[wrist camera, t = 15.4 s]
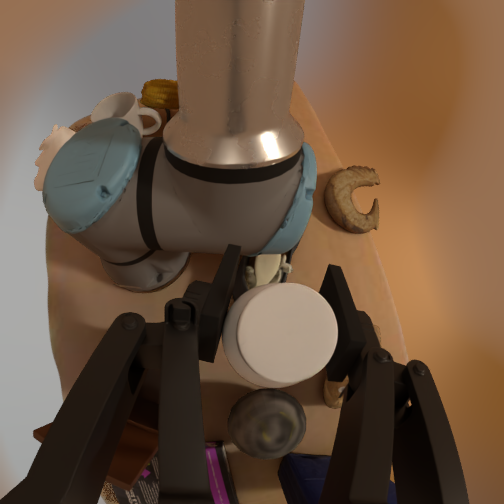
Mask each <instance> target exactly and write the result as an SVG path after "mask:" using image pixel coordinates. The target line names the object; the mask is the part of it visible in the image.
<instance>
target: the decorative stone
mask: <svg viewBox="0 0 504 504" xmlns="http://www.w3.org/2000/svg"><path fill="white" fill-rule="evenodd" d="M305 431H306V416H305V413H304V411H303V408H302V406H301V405H300V404H299V403H298V401H297V400H296V399H295V398H294V397H292V396H291V395H289V394H288V393H286V392H284V391H281V390H277V389H273V388H267V389H258V390H255V391H251V392H248V393H247V394H246V395H244V396H243V397H241V398H240V399H238V401H237V402H236V403H235V405H234V406H233V407H232V409H231V412H230V414H229V417H228V432H229V435H230V437H231V440H232V442H233V443H234V444H235V445H236V446H237V448H238V449H239V450H240V451H241V452H243V453H245V454H247V455H248V456H250V457H253V458H258V459H263V460H265V459H276V458H279V457H282V456H285V455H287V454H288V453H290V452H291V451H293V450H294V449H295V448H296V447H297V446H298V444H299V443H300V442H301V441H302V439H303V436H304V433H305Z"/></svg>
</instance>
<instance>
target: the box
mask: <svg viewBox="0 0 504 504" xmlns="http://www.w3.org/2000/svg"><path fill="white" fill-rule="evenodd" d="M205 448H206V457H207V466H208V474H209V481H210V489H211V494H212V497H213V500H214V504H239V503H238V499H237V496H236V492H235V488H234V485H233V481H232V477H231V473H230V469H229V465H228V461H227V457H226V452H225V448H224V443H223V441H216V442H205ZM111 485H112V487H113V490H114V492H115V495H116V497H117V500H118V502H119V504H158V495H159V472H158V451H157V452H156V454H155V455H154V457H153V458H152V460H151V461H150V463H149V464H148V465H147V467H146V468H145V470H144V471H143V473H142V474H141V476H140V477H139V479H138V480H137V481H136V483H135V484H134V486H133V487H132V489H131V490H130V491H126V490H124V489H122V488H119V487H117V486H115V485H113V484H111Z"/></svg>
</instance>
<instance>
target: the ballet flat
mask: <svg viewBox="0 0 504 504" xmlns="http://www.w3.org/2000/svg"><path fill="white" fill-rule="evenodd" d="M302 235H303V234H302ZM301 237H302V236H301ZM300 239H301V238H300ZM299 241H300V240H299ZM299 241H298V242H297V244H296V245H295V246H294V247H293V248H292V249H290V250H289V251H287V252H285V253H282V254H268V255H258V256H254V257H250V256H246V255H243V256H242V259H241V261H240V264H239V267H238V270H237V274H236V280H235V285H234V289H233V293H232V294H233V299H234V302H235V301H236V300H237V299H238V298H239V297H240V296H241V295H243V294H244V293H245V292H247V291H248V290H250V289H252V288H255V287H257V286H261V285H264V284H269V283H285V282H286V278H287V274H288V273H291V272H292V271H293V269H292V266H291V265H290V262H291V258H292V254H293V253H294V251H295V249H296V248H297V246H298V244H299Z"/></svg>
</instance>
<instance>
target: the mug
mask: <svg viewBox="0 0 504 504" xmlns="http://www.w3.org/2000/svg"><path fill="white" fill-rule="evenodd" d="M142 115H148V116H150V117H152V118H154V119H155V121H156V124H155V125H154V126H152V127H149V128H143V120H142ZM106 118H122V119H125V120H127V121H128V122H129V123H130V124H132V125H133V126H135V127H136V128H137V129H138V130H139V132H140V134H141V138H142V137H143V135H150V134H153V133H155V132H156V131H157V130H158V129H159V128H160V126H161V123H162V120H161V116H160V114H159V113H158V112H157V111H155V110H154V109H151V108H146V107H142V108H140V107H139V104H138V101H137V99H136V97H135V95H133V94H132V93H128V92H121V93H116V94H112V95H110V96H108V97H106V98H105V99H103V100H102V101H100V102H99V103H98V104H97V106H96V107H95V108H94V110H93V111H92V114H91V122H92V123H93V122H96V121H98V120H102V119H106Z"/></svg>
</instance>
